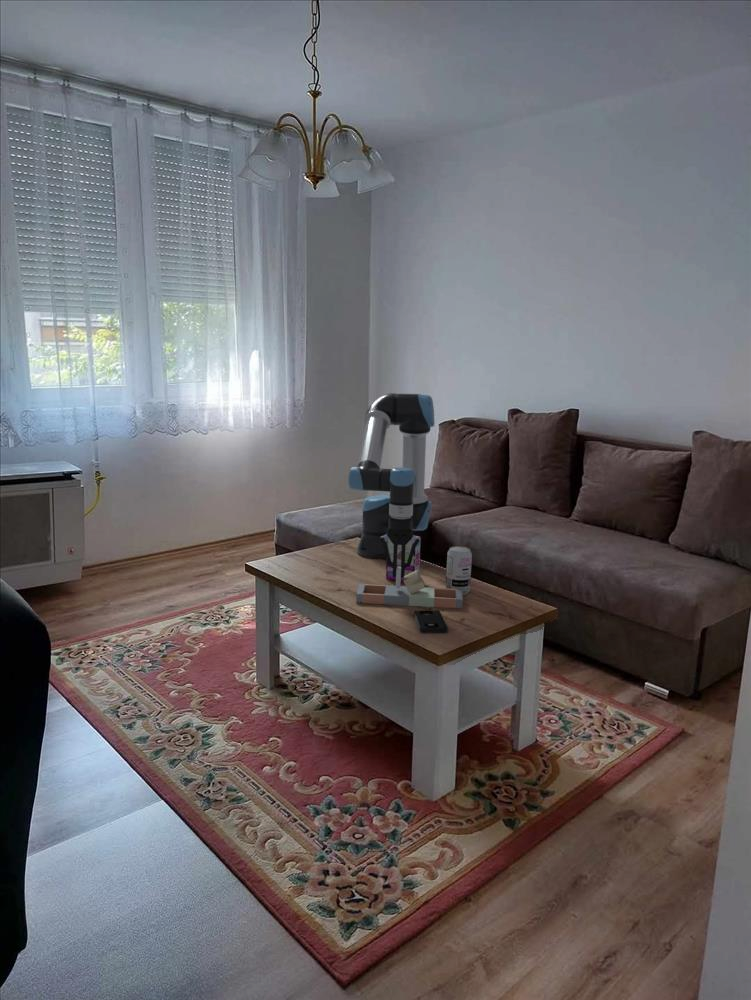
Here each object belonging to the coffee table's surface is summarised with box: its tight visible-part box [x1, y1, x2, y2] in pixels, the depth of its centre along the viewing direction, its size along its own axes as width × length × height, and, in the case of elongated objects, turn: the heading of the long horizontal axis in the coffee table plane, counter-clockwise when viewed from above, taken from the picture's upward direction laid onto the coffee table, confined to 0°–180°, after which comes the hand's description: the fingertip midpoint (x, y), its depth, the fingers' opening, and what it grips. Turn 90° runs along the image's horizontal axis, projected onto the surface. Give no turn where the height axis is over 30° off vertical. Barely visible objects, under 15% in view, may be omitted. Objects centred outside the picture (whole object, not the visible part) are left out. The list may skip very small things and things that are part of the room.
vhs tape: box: [413, 609, 449, 634], centre depth 216 cm, size 14×8×2 cm, turn 5°
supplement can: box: [445, 545, 473, 596], centre depth 243 cm, size 8×8×15 cm
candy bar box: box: [385, 535, 422, 584], centre depth 253 cm, size 11×5×16 cm, turn 62°
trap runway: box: [355, 583, 464, 610], centre depth 235 cm, size 10×34×3 cm, turn 85°
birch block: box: [403, 570, 425, 594], centre depth 233 cm, size 5×5×5 cm
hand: (398, 586), depth 234 cm, fingers closed
